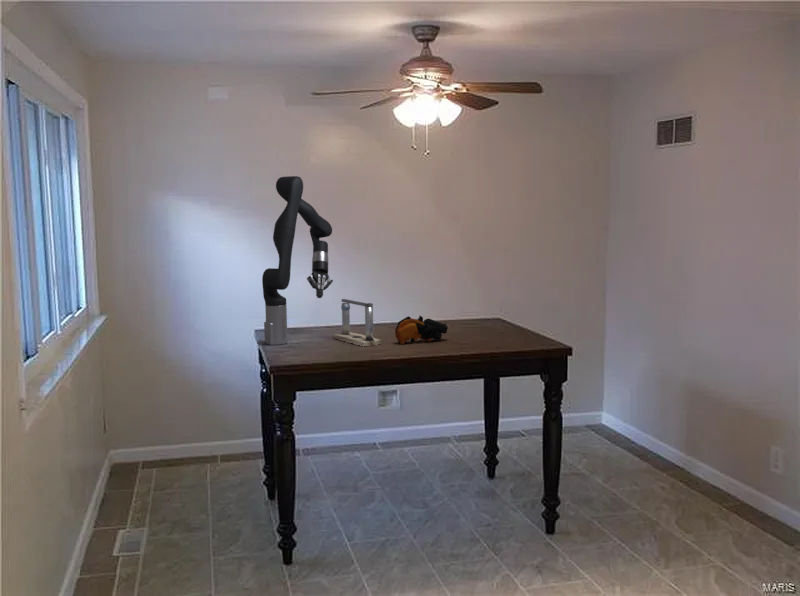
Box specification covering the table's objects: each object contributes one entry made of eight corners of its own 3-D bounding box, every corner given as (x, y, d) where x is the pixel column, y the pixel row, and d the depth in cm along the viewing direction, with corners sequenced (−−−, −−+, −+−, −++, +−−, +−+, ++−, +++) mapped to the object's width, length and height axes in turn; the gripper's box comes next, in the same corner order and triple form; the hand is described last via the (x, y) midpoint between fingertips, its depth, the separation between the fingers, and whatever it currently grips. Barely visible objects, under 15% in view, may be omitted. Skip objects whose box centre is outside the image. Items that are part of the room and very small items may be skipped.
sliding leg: (344, 334, 347) (344, 304, 345) (340, 333, 350) (339, 303, 348) (352, 333, 349) (351, 303, 347) (347, 332, 352) (346, 302, 350)
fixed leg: (368, 341, 332) (367, 304, 330) (340, 333, 351) (339, 298, 348) (374, 340, 334) (374, 303, 332) (346, 333, 353) (345, 298, 350)
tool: (439, 358, 340) (451, 326, 340) (394, 342, 332) (406, 310, 332) (432, 354, 348) (444, 323, 347) (388, 339, 339) (400, 307, 339)
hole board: (363, 347, 329) (363, 342, 329) (333, 338, 349) (333, 334, 349) (382, 344, 335) (382, 339, 335) (351, 336, 355) (351, 332, 355)
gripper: (310, 257, 354) (309, 293, 349) (336, 262, 360) (336, 297, 355) (304, 262, 360) (303, 297, 355) (329, 267, 367) (329, 301, 361)
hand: (319, 297), depth 355 cm, fingers closed
